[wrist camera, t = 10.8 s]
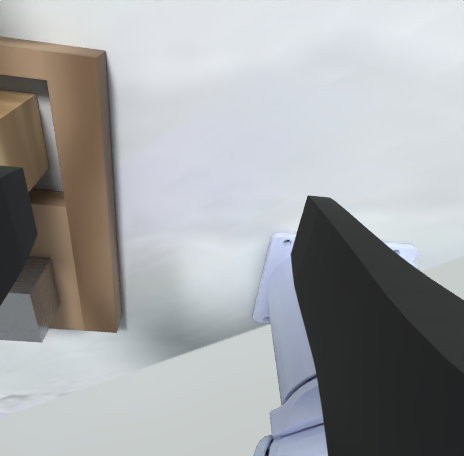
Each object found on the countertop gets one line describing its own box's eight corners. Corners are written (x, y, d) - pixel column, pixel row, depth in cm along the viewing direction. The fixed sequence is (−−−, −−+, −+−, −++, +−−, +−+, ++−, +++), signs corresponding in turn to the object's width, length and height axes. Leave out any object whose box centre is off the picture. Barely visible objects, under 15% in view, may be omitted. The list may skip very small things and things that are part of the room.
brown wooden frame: (105, 50, 17) (96, 57, 16) (121, 316, 27) (116, 332, 26) (-157, 15, 16) (-188, 19, 15) (-38, 304, 26) (-50, 321, 25)
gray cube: (60, 242, 23) (29, 294, 20) (67, 288, 26) (42, 342, 22) (-8, 236, 23) (-51, 288, 19) (6, 283, 25) (-30, 337, 22)
